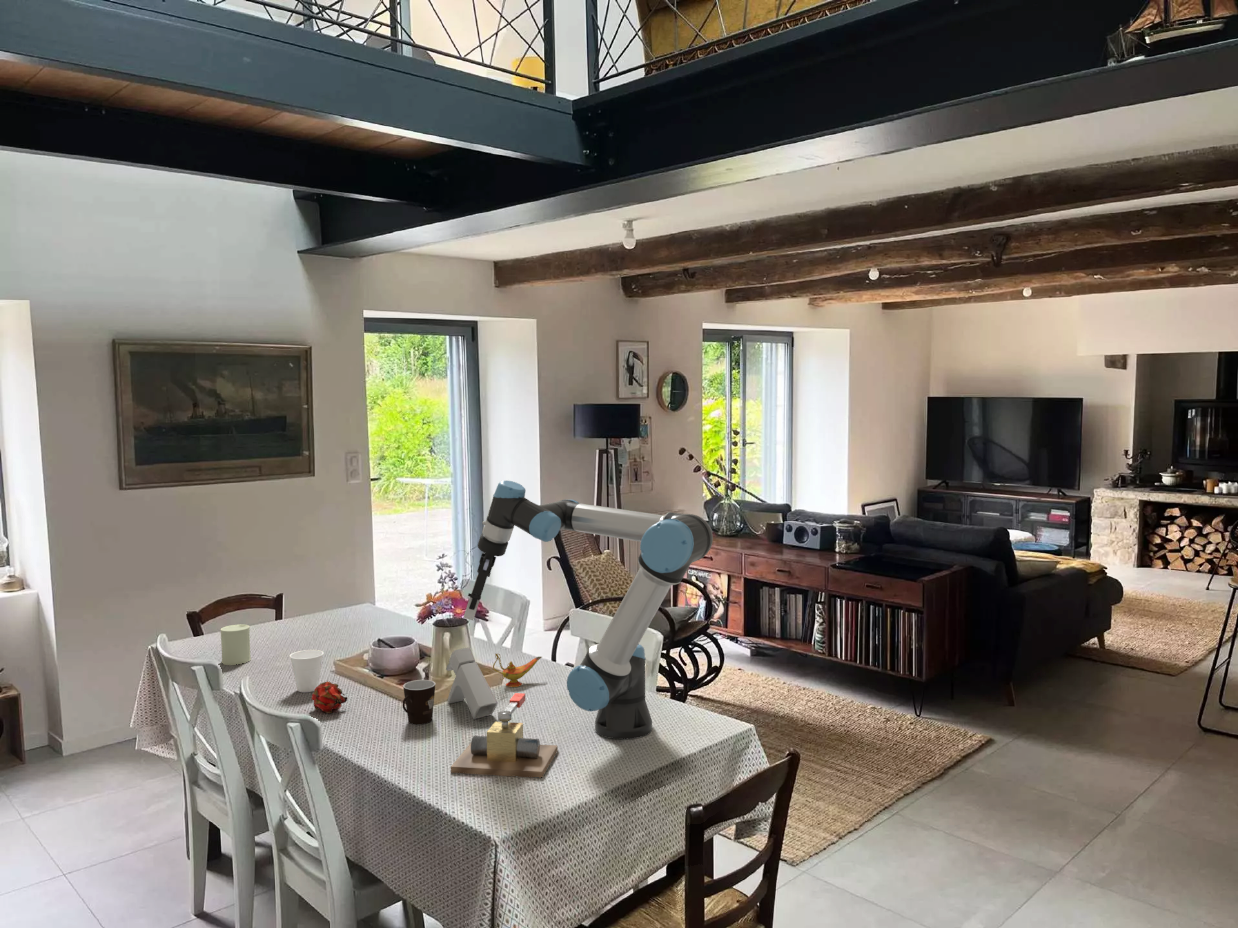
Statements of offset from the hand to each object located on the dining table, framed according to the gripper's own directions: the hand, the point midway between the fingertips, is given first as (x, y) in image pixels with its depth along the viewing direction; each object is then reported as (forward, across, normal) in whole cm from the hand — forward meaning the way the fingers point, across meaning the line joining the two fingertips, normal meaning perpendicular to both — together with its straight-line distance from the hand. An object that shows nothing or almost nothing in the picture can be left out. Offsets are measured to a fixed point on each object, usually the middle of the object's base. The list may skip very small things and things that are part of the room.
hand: (471, 607), depth 245 cm
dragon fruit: (+46, -5, -29) cm, 54 cm away
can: (+70, -54, -69) cm, 112 cm away
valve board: (+20, +33, +19) cm, 43 cm away
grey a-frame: (+32, -3, +9) cm, 33 cm away
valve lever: (+11, +25, +17) cm, 32 cm away
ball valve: (+19, +33, +19) cm, 42 cm away
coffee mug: (+35, +6, -5) cm, 36 cm away
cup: (+53, -23, -39) cm, 70 cm away
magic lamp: (+32, -26, +21) cm, 46 cm away
